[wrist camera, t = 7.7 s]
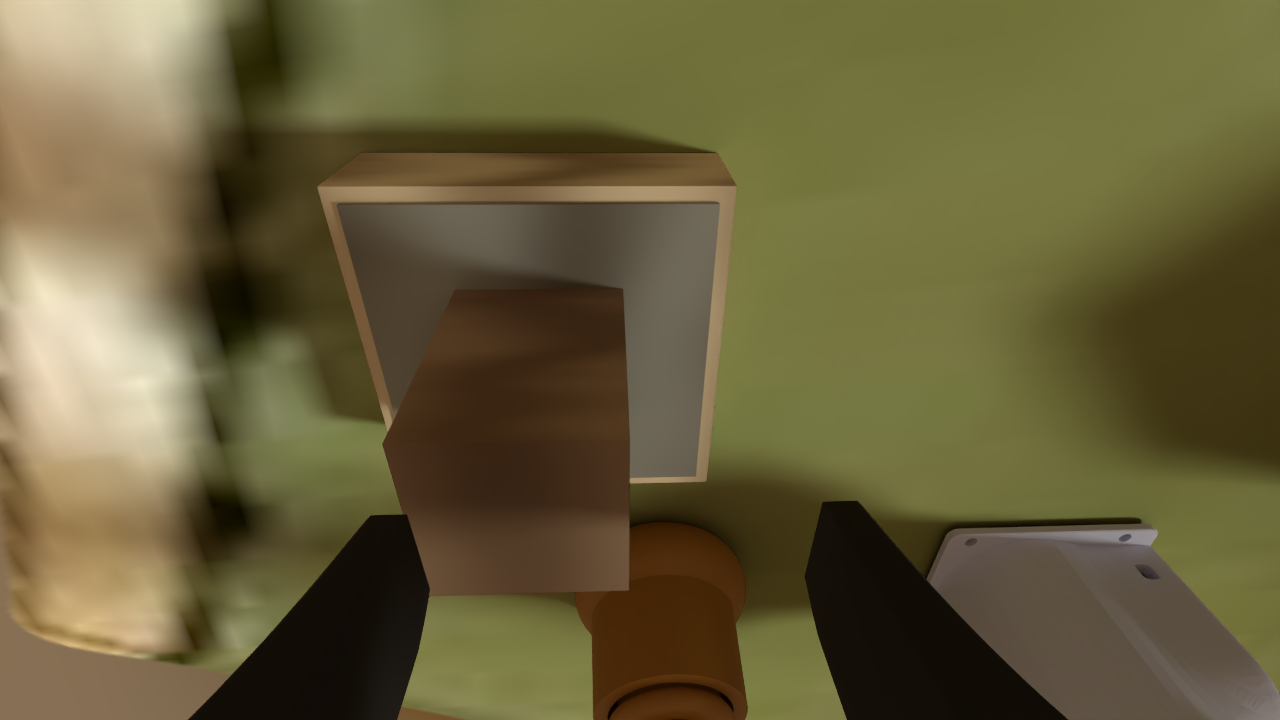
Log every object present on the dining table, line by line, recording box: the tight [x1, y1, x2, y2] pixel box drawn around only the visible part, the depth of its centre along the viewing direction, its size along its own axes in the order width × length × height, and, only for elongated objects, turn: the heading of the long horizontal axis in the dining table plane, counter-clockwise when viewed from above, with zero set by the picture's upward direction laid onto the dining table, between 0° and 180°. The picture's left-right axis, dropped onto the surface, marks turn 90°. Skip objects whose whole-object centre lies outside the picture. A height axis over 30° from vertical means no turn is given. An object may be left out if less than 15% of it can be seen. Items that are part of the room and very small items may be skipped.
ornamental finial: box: [575, 522, 748, 720], centre depth 24 cm, size 8×8×8 cm
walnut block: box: [382, 289, 630, 596], centre depth 14 cm, size 4×4×6 cm
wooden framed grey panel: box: [317, 153, 737, 483], centre depth 18 cm, size 10×10×3 cm
